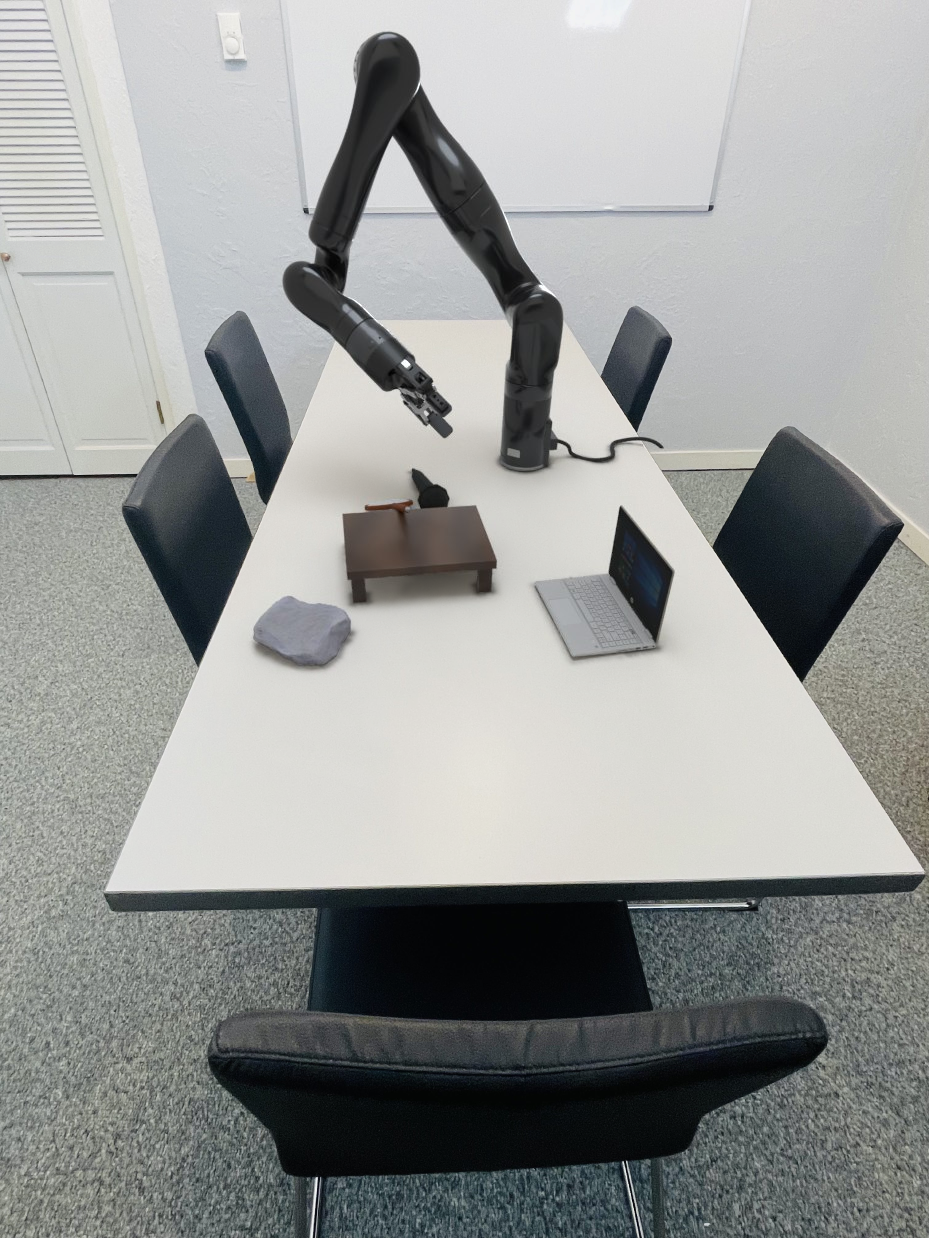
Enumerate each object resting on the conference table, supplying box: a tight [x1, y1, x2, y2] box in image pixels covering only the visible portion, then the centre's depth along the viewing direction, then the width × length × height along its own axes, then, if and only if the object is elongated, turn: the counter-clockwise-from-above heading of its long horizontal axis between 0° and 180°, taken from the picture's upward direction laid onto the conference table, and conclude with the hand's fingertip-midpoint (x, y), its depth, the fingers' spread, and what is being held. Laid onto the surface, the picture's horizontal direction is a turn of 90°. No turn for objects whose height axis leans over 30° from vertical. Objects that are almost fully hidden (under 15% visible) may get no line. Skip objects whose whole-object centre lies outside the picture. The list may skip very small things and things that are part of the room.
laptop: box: [534, 505, 676, 658], centre depth 101 cm, size 18×12×13 cm
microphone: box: [411, 467, 450, 509], centre depth 132 cm, size 6×6×20 cm
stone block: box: [252, 595, 352, 666], centre depth 98 cm, size 12×5×10 cm
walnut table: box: [342, 504, 498, 604], centre depth 112 cm, size 22×17×6 cm
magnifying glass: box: [363, 498, 414, 513], centre depth 120 cm, size 9×2×20 cm
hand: (448, 424), depth 114 cm, fingers open, 8 cm apart
